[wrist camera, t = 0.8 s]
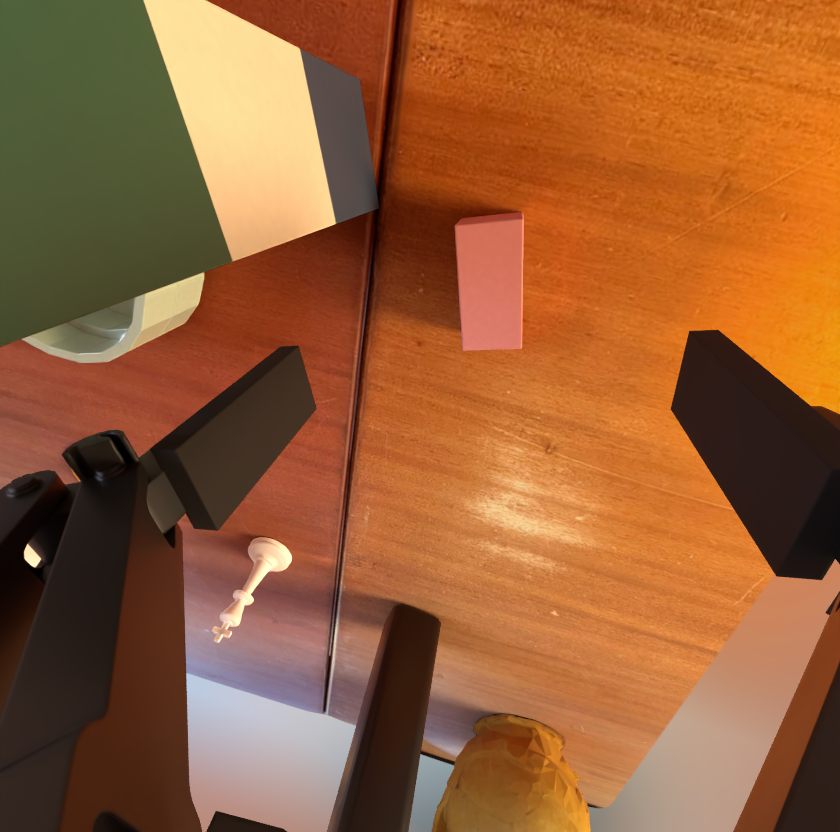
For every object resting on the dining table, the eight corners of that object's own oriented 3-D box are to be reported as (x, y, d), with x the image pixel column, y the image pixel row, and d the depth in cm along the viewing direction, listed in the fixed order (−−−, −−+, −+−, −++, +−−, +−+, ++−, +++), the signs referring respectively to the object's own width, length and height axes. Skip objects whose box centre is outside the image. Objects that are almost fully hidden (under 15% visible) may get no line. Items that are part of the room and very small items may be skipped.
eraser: (460, 218, 23) (453, 225, 21) (522, 211, 22) (523, 217, 20) (467, 333, 27) (462, 351, 24) (521, 331, 26) (521, 349, 24)
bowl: (-34, 122, 26) (-164, 114, 21) (149, 81, 23) (47, 59, 18) (87, 335, 33) (13, 365, 28) (238, 326, 30) (184, 359, 25)
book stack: (211, 108, 23) (-984, -89, 5) (360, 78, 21) (-733, -487, 3) (246, 224, 26) (-384, 378, 8) (379, 208, 24) (-54, 367, 6)
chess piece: (249, 531, 44) (187, 618, 35) (292, 544, 43) (240, 635, 35) (251, 559, 46) (194, 646, 38) (291, 571, 46) (243, 661, 38)
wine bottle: (444, 617, 45) (359, 1180, 20) (427, 640, 48) (336, 1149, 23) (397, 599, 45) (254, 1142, 20) (383, 623, 48) (244, 1117, 23)
